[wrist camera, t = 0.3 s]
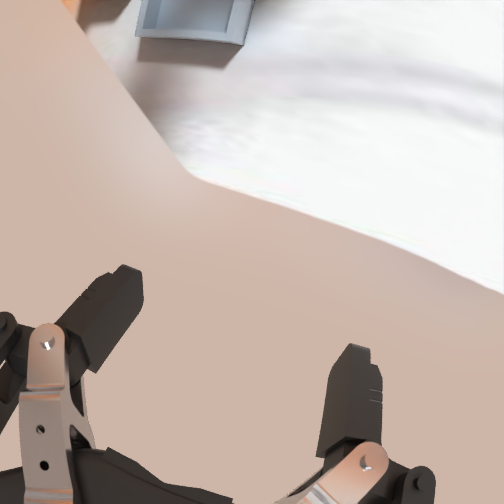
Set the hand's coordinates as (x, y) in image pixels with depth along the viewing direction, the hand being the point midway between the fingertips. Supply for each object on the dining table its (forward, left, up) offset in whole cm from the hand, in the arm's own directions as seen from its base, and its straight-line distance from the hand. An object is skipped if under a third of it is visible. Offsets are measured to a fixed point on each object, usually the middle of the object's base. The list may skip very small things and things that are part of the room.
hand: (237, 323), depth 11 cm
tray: (-17, -17, -29) cm, 38 cm away
